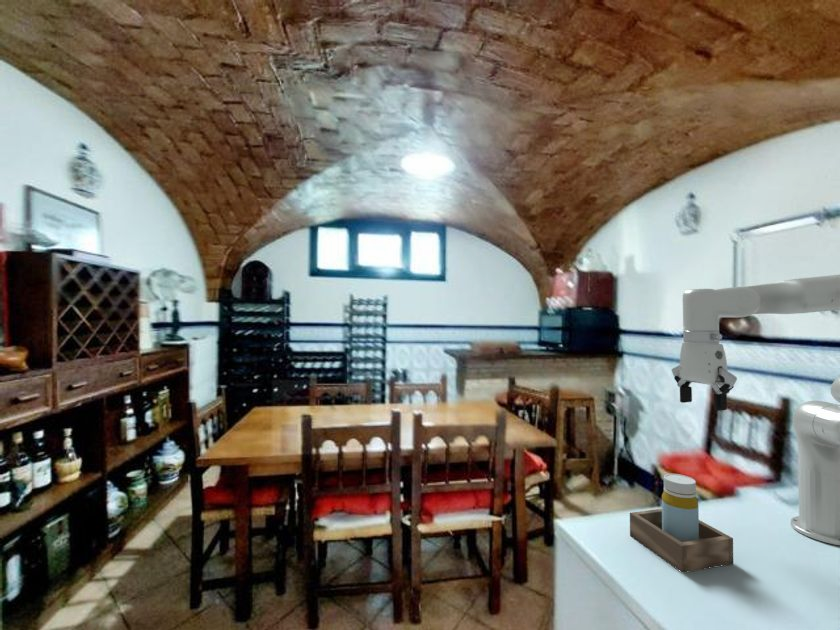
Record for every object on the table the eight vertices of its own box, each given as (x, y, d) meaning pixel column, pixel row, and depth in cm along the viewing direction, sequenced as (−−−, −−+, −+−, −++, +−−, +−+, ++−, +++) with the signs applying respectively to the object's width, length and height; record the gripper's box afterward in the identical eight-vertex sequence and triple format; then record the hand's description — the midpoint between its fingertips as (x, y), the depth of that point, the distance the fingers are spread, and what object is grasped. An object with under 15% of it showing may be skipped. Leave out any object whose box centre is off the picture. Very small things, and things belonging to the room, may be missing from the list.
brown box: (675, 529, 103) (675, 506, 103) (733, 564, 88) (733, 538, 88) (629, 535, 100) (629, 512, 100) (682, 572, 85) (681, 546, 85)
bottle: (704, 555, 90) (704, 486, 90) (669, 552, 91) (668, 483, 91) (690, 538, 96) (689, 474, 96) (657, 535, 98) (656, 472, 98)
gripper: (746, 339, 97) (748, 412, 97) (684, 336, 114) (685, 398, 114) (720, 339, 95) (722, 414, 95) (661, 337, 112) (662, 400, 112)
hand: (702, 405), depth 105 cm, fingers open, 9 cm apart
